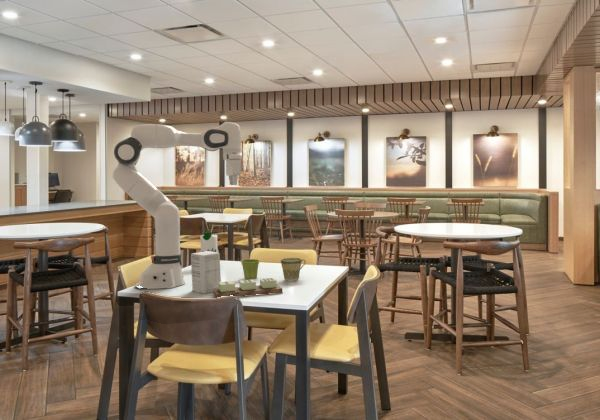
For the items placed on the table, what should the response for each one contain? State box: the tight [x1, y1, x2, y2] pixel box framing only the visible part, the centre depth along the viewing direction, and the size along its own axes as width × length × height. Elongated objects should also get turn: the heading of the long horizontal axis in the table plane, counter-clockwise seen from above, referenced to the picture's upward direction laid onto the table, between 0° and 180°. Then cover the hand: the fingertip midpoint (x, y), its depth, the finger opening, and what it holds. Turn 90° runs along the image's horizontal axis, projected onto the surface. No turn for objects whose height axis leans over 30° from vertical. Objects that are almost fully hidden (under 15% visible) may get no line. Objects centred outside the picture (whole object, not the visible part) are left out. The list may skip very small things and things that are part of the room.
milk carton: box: [199, 231, 219, 253], centre depth 281 cm, size 9×9×20 cm
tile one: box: [218, 280, 236, 292], centre depth 211 cm, size 6×6×3 cm
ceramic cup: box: [280, 257, 306, 282], centre depth 241 cm, size 13×10×10 cm
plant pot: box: [240, 258, 261, 280], centre depth 247 cm, size 9×9×9 cm
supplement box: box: [190, 251, 222, 294], centre depth 221 cm, size 10×9×17 cm
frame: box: [212, 284, 283, 298], centre depth 214 cm, size 28×10×2 cm, turn 107°
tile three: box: [259, 277, 278, 288], centre depth 217 cm, size 6×6×3 cm
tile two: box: [238, 278, 257, 290], centre depth 214 cm, size 6×6×3 cm
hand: (233, 185), depth 241 cm, fingers open, 8 cm apart
